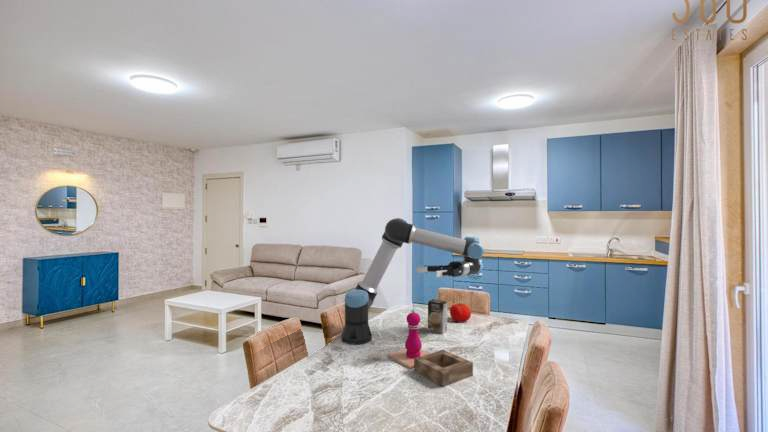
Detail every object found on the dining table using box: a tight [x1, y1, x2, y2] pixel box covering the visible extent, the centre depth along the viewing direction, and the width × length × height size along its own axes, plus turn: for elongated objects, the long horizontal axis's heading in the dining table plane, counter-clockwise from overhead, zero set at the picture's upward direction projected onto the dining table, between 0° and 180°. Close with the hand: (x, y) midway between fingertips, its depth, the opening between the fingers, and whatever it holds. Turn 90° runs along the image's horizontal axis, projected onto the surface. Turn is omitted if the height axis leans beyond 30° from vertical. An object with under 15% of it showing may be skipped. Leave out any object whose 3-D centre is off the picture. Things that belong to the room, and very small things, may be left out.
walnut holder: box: [413, 349, 474, 388], centre depth 137 cm, size 16×16×5 cm
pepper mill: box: [404, 309, 423, 358], centre depth 152 cm, size 7×7×20 cm
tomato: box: [449, 302, 472, 323], centre depth 207 cm, size 11×13×10 cm
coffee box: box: [427, 298, 448, 335], centre depth 188 cm, size 9×6×16 cm
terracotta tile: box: [386, 348, 431, 370], centre depth 152 cm, size 16×16×1 cm
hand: (426, 272), depth 163 cm, fingers open, 13 cm apart
